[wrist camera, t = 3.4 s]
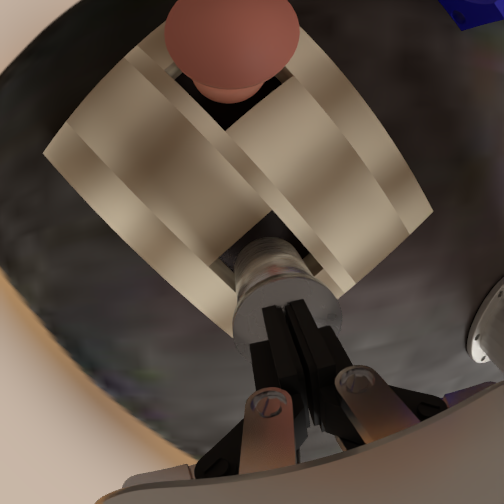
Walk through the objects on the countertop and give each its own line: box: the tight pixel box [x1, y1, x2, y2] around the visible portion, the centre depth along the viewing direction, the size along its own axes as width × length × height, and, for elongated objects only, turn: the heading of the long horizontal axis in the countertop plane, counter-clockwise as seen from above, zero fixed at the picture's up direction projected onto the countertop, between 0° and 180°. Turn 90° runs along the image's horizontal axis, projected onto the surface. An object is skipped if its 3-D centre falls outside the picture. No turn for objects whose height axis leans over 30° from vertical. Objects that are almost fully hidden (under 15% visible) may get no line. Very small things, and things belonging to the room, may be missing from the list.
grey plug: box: [232, 237, 342, 363], centre depth 15 cm, size 5×5×6 cm
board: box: [43, 21, 433, 338], centre depth 17 cm, size 20×16×3 cm
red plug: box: [164, 0, 300, 104], centre depth 11 cm, size 5×5×6 cm
